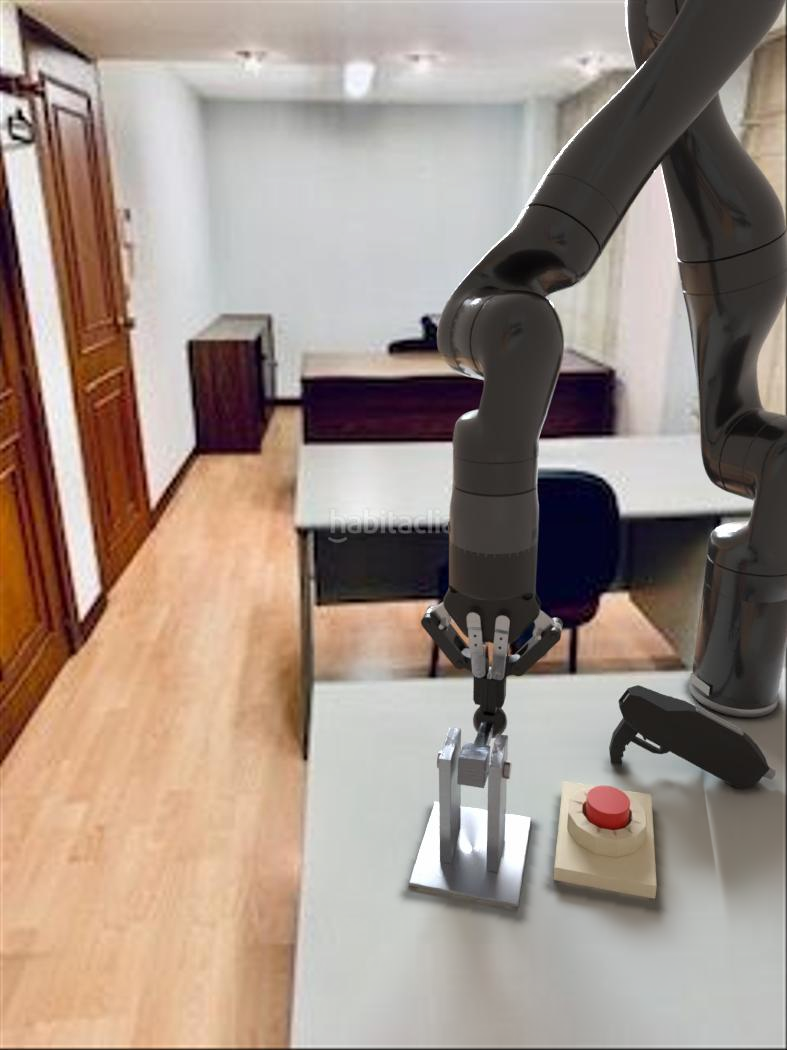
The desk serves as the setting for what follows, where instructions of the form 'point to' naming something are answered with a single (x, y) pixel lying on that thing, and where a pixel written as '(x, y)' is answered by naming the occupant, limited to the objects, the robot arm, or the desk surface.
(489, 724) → the press lever
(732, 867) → the desk surface
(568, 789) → the button block
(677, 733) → the gun
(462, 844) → the lever bracket
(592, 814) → the button
